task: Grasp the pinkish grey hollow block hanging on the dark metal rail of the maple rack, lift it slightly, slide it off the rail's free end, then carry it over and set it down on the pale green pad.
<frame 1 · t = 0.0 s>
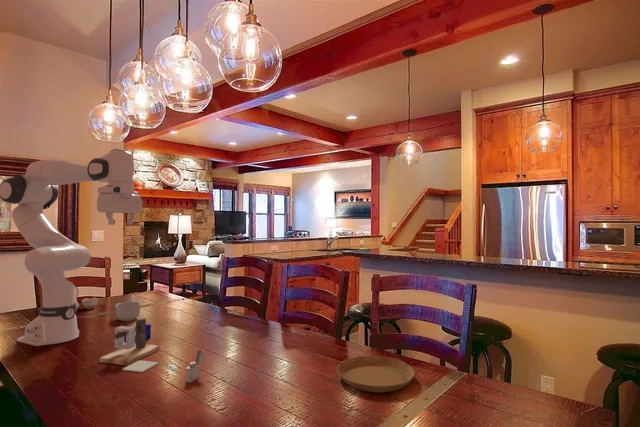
hand: (121, 224, 148), 48 cm above the table, fingers open, 8 cm apart
hook rack: (130, 355, 137), on the table
teacup: (126, 319, 186), on the table
felt pad: (140, 366, 126), on the table
chinaware: (72, 312, 201), on the table
plant saucer: (375, 380, 117), on the table
lighter: (195, 378, 118), on the table
pinkish grey hollow block: (124, 347, 134), point 4 cm above the table, touching hook rack
blue notched block: (136, 343, 152), on the table
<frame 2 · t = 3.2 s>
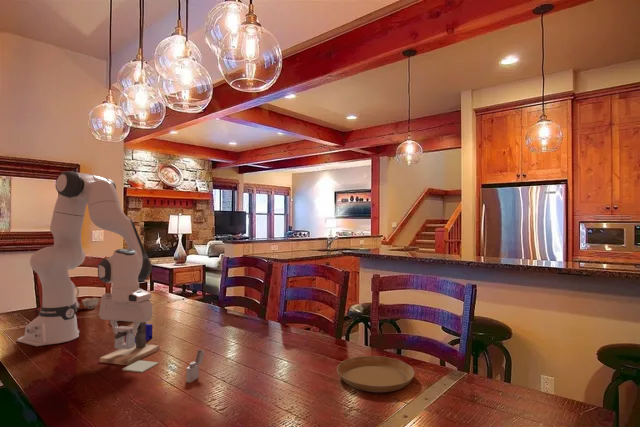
hand: (125, 332, 134), 9 cm above the table, fingers closed on pinkish grey hollow block, 6 cm apart
pinkish grey hollow block: (124, 347, 134), point 4 cm above the table, touching gripper, hook rack
everything else where it was.
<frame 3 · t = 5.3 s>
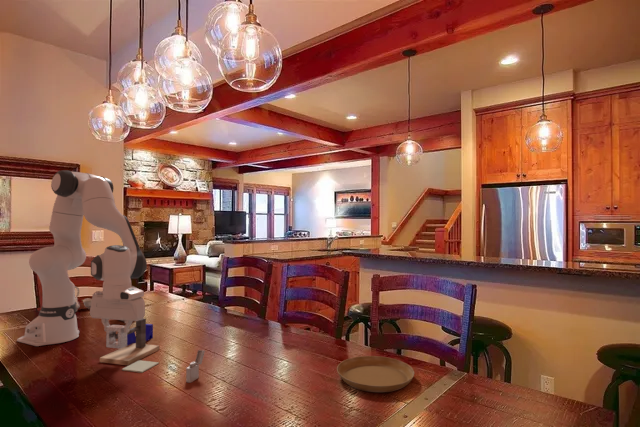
hand: (116, 331, 130), 11 cm above the table, fingers closed on pinkish grey hollow block, 6 cm apart
pinkish grey hollow block: (116, 346, 130), point 6 cm above the table, touching gripper
everything else where it was.
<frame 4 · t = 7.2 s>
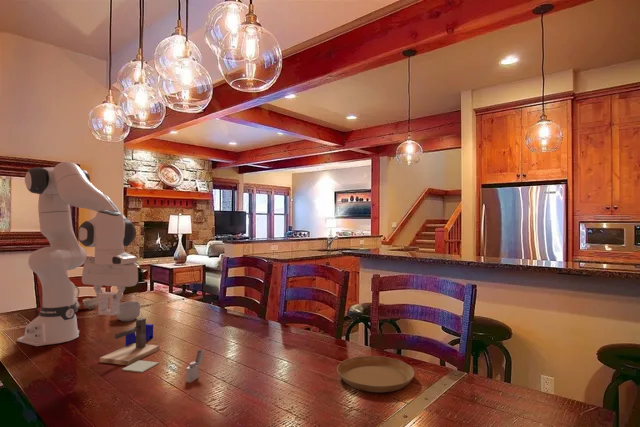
hand: (109, 298, 126), 23 cm above the table, fingers closed on pinkish grey hollow block, 6 cm apart
pinkish grey hollow block: (109, 313, 126), point 18 cm above the table, touching gripper
everything else where it was.
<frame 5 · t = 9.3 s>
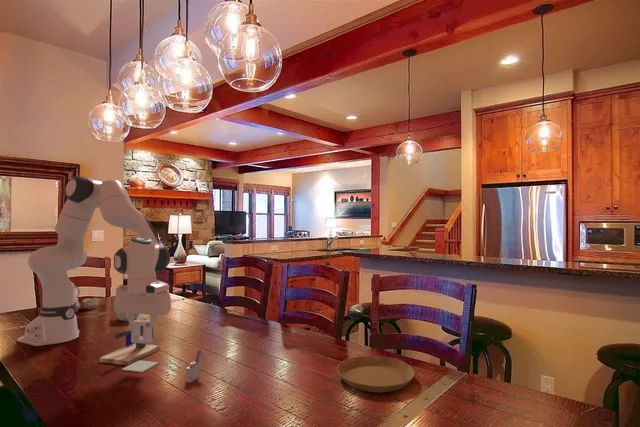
hand: (141, 326, 127), 14 cm above the table, fingers closed on pinkish grey hollow block, 6 cm apart
pinkish grey hollow block: (141, 341, 126), point 8 cm above the table, touching gripper
everything else where it was.
when the fingers open (7 cm above the table, at t = 10.8 s): pinkish grey hollow block drops 2 cm, resting on felt pad.
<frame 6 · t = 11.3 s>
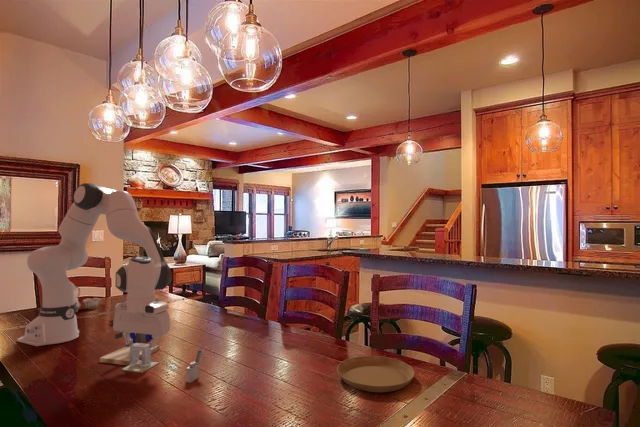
hand: (140, 345, 126), 7 cm above the table, fingers open, 8 cm apart
pinkish grey hollow block: (140, 365, 126), resting on felt pad
everything else where it was.
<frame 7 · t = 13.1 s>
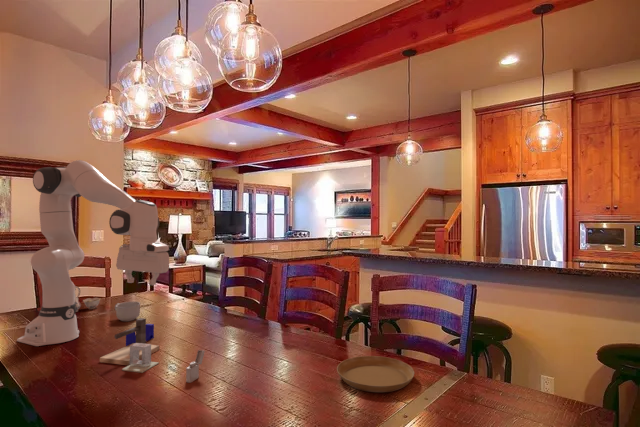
hand: (141, 283, 134), 27 cm above the table, fingers open, 8 cm apart
nothing on the table moved.
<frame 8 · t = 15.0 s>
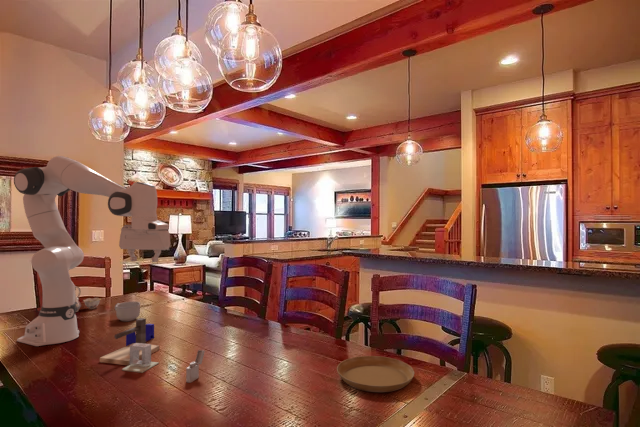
hand: (144, 261, 141), 34 cm above the table, fingers open, 8 cm apart
at the end: pinkish grey hollow block inside the target area on the felt pad (0.1 cm from its centre), point 0.4 cm above the felt pad's base; pinkish grey hollow block touching felt pad; the gripper is holding nothing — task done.
